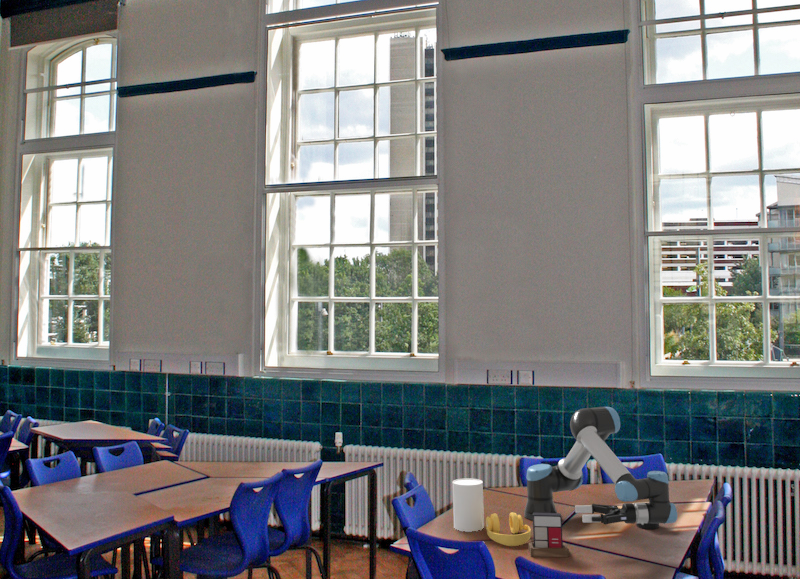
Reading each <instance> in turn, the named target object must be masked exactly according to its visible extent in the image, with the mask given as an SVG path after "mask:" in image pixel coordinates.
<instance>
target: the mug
mask: <svg viewBox="0 0 800 579" xmlns="http://www.w3.org/2000/svg"><path fill="white" fill-rule="evenodd" d="M635 524H636V526H637V527H638V528H640V529H643V528H644V530H657V529H659V527H660V523H644V525H642V524H641V523H636V522H635ZM656 528H657V529H656Z"/></svg>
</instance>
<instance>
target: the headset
mask: <svg viewBox="0 0 800 579" xmlns="http://www.w3.org/2000/svg"><path fill="white" fill-rule="evenodd" d="M508 524H509V530H510V532H511V534H502V533H500V531H501V523H500V518H499V515H498V514H497V513H496V512H495V513H491V514H490V516H486V518H485V529H486V534H487V536H488V537H489V539H491V540H492V541H494V542H496V543H497V544H500V545H504V546H508V547H517V546H519V545H520V546H523V545H524V544H526V543H528V541H529V540H530V539H531V538H532V537H531V536H532V535H531V533H532V532H531V531H532V529H531V527H530V526H529V524H524V519H523V517H522V515H521V514H517V513H516V512H513V511H512V512H510V513H509V516H508ZM523 530H524V531H526V532H523V533H519V531H520V532H521V531H523ZM518 533H519V534H518ZM520 546H519V547H520Z"/></svg>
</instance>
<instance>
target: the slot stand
mask: <svg viewBox="0 0 800 579" xmlns="http://www.w3.org/2000/svg"><path fill="white" fill-rule="evenodd" d="M527 543H528V552H529V554H530V557H531V558H532V557H534V558H535V557H536V558H537V557H538V558H541V557H542V558H544V557H545V558H547V557H549V558H551V557H554V558H558V557H559V558H560V557H563V558H565V557H566V558H567V557H568V558H569V557H570V556H569V555H570V554H569V552H570V551H569V547H568V545H567V543H566V542H564V541H563V548H534V541H533V542H532V541H529V542H528V541H527Z"/></svg>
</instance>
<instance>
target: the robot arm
mask: <svg viewBox="0 0 800 579" xmlns="http://www.w3.org/2000/svg"><path fill="white" fill-rule="evenodd" d="M569 422H570V423H569V428H570V432H571V434H572V436H573V437H574V439H575V443H574V444H573V446H572V448H571V449H570V451H569V452H568V454H567V455H566V457H563V458H561V459H560V460H559V461H558V463H557V465H555V466H552V465H550V464H548V463H541V464H540V463H538V464H534V465H531V466H528V468H527V470H526V489H527V490H526V491H527V493H526V494H527V501H526V504H525V507H524V510H523V511H524V512H523V514H524V518H526V519H527V520H530V521H531V520H532V521H533V513H558V511H557V508H556V505H555V503H554V496H553V494H554V493H560V492H568V491H571V492H572V491H574V490H577V489H579V488H581V485H582V484H583V481H584V479H583V478H584V473H583V470H582V469H583V468H584V467H585V465H586V463H587V462H588V461H589V459H590V457H591V456H592V458H593V460H595V461H596V462H597V464H598V465H599V466H600V467H601V469H602V470H603V471H604V473H605V474H606V475H607V477H608V478H609V479H610V480H611V481H612V483H613V484H615V487H614V492H615V494H616V497H617V499H618V500H619V501H621V502H624V503H622V506H621V508H619V507H618V505H609V504H599V503H598V504H597V503H591V505H590V504H589V505H574V508H575V510H574V511H575V514H581V515H582V516H581V517H582V519H581V520H582V523H589V524H590V523H600V524H603V525H609V524H611V525H612V524H617V523H625V524H629V525H630V524H631V525H632V524H636V523H641V524H642V525H644V523H659V524H664V525H666V524H674V523H676V522H677V520H678V511H677V507H676V505H675V504H674V503H673V502H671V501H670V487H669V485H670V483H669V476H668V474H667V473H666V472H665V471H661V470H650V471H648V472H647V475H646V478H639V479H637V478H635V476H634V475H633V473H631V472H630V471H629V470H628V468H627V467H626V466H625V464H624V463H623V462H622V461H621V460H620V459H619V458H618V457H617V455H616V454H615V453H614V452H613V451H612V449H611V448H610V447H609V446H608V444H607V443H606V440H607V439H608V437H609V436H610V435H611V434H612V435H613V434H617V433H618V432H619V431H620V430H621V429H620V428H621V419H620V416H619V413H618V412H617V411H616V409H615V408H613V407H610V406H598V407H588V408H585V407H584V408H580V409H578V410H576V411H575V412H574V413H573V414H572V416H571V417H570V421H569ZM641 500H648V502H636V501H641ZM628 502H629V503H628ZM633 502H634V503H633ZM595 513H598V514H595Z"/></svg>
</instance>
